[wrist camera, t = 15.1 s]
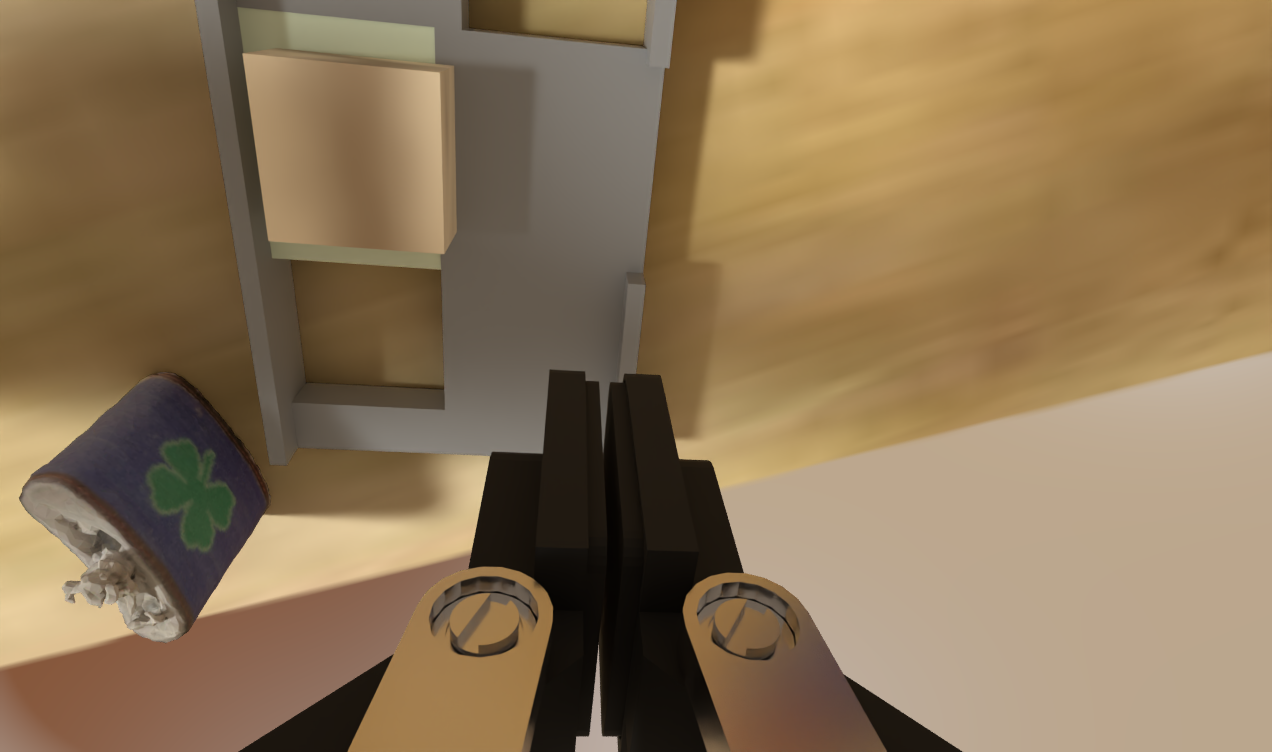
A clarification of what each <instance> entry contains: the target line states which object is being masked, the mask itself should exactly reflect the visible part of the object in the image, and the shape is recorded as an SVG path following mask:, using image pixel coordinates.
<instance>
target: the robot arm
mask: <svg viewBox="0 0 1272 752" xmlns="http://www.w3.org/2000/svg"><path fill="white" fill-rule="evenodd" d="M598 645H599V662H600V692H601V693H600V695H601V725H602V736H617V738H618V752H962V751H960V750H959V749H958V748H956V747H954V746H953V745H951V744H950V743H948V742H947V741H945V740H944V739H942V738H941V737H939V736H938V735H936V734H934V733H933V732H931V731H930V730H928V729H927V728H925V727H924V726H922V725H921V724H919V723H918V722H916V721H914V720H913V719H911V718H910V717H908V716H907V715H905V714H904V713H902V712H900V711H899V710H897V709H896V708H894V707H893V706H891V705H890V704H888V703H887V702H885V701H884V700H882V699H881V698H879V697H877V696H876V695H874V694H873V693H871V692H870V691H868V690H866V689H865V688H864V687H862V686H861V685H859V684H858V683H856V682H854V681H853V680H851V679H850V678H848V677H847V676H845V675H844V674H843V673H842V671H841V670H840V668H839V666H838V664H837V662H836V661H835V659H834V657H833V655H832V654H831V652H830V650H829V648H828V646H827V645H826V643H825V641H824V639H823V638H822V636H821V634H820V632H819V630H818V629H817V627H816V625H815V623H814V622H813V620H812V618H811V616H810V615H809V613H808V611H807V610H806V609H805V608H804V606H803V605H802V604H801V603H800V601H799V600H798V599H797V598H796V597H795V596H794V595H792V594H791V593H790V592H789V591H787V590H786V589H785V588H783V587H782V586H780V585H778V584H776V583H774V582H772V581H770V580H768V579H765V578H762V577H758V576H754V575H750V574H746V573H744V572H743V569H742V565H741V562H740V558H739V555H738V551H737V548H736V544H735V541H734V537H733V534H732V530H731V527H730V523H729V520H728V516H727V513H726V509H725V506H724V503H723V499H722V495H721V492H720V488H719V485H718V481H717V478H716V474H715V471H714V468H713V465H712V463H711V462H710V461H708V460H684V459H679V457H678V453H677V448H676V444H675V439H674V434H673V430H672V425H671V421H670V416H669V411H668V407H667V402H666V397H665V393H664V388H663V384H662V379H661V376H660V375H644V374H625V373H624V377H623V383H620V382H610V385H609V393H608V404H607V415H606V426H605V437H604V448H603V445H602V426H601V407H600V388H599V381H586V374H585V371H570V370H552V369H550V370H549V382H548V395H547V407H546V420H545V433H544V445H543V454H541V453H517V452H492V453H491V456H490V460H489V465H488V471H487V476H486V481H485V486H484V491H483V496H482V502H481V507H480V512H479V517H478V522H477V527H476V532H475V538H474V543H473V548H472V553H471V558H470V563H469V569H467V570H462V571H459V572H457V573H455V574H452V575H450V576H448V577H446V578H444V579H442V580H441V581H439V582H438V583H437V584H435V585H434V586H433V587H432V588H430V589H429V590H428V591H427V592H426V594H425V595H424V596H423V598H422V599H421V601H420V602H419V603H418V605H417V607H416V609H415V611H414V613H413V615H412V617H411V619H410V622H409V624H408V626H407V628H406V630H405V632H404V634H403V636H402V638H401V641H400V642H399V645H398V647H397V649H396V651H395V653H394V654H393V655H392V656H390V657H388V658H387V659H385V660H384V661H382V662H380V663H379V664H377V665H376V666H374V667H372V668H371V669H369V670H368V671H366V672H364V673H363V674H361V675H360V676H358V677H357V678H355V679H354V680H352V681H350V682H349V683H347V684H345V685H344V686H342V687H341V688H339V689H337V690H336V691H335V692H333V693H331V694H330V695H328V696H326V697H325V698H323V699H322V700H320V701H318V702H317V703H315V704H314V705H312V706H310V707H309V708H307V709H306V710H304V711H302V712H301V713H299V714H298V715H296V716H294V717H293V718H291V719H290V720H288V721H286V722H285V723H284V724H282V725H280V726H279V727H277V728H275V729H274V730H272V731H271V732H269V733H267V734H266V735H264V736H263V737H261V738H260V739H258V740H256V741H255V742H253V743H251V744H250V745H249V746H247V747H245V748H244V749H242V750H240V751H239V752H575V745H576V736H589V732H590V722H591V713H592V704H593V694H594V684H595V673H596V664H597V654H598Z"/></svg>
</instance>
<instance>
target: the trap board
mask: <svg viewBox="0 0 1272 752" xmlns="http://www.w3.org/2000/svg"><path fill="white" fill-rule="evenodd" d="M676 2H677V0H647V11H646V22H645V33H644V44H643V46H637V45H628V44H618V43H608V42H598V41H589V40H579V39H569V38H560V37H550V36H540V35H530V34H521V33H511V32H501V31H492V30H482V29H472V28H469V0H195V6H196V12H197V18H198V24H199V31H200V37H201V43H202V49H203V55H204V61H205V68H206V74H207V80H208V86H209V92H210V99H211V105H212V111H213V117H214V123H215V129H216V136H217V142H218V148H219V154H220V160H221V167H222V173H223V179H224V185H225V191H226V197H227V204H228V210H229V216H230V222H231V228H232V235H233V241H234V247H235V253H236V259H237V265H238V272H239V278H240V284H241V290H242V296H243V303H244V309H245V315H246V321H247V327H248V333H249V340H250V346H251V352H252V358H253V364H254V370H255V377H256V383H257V389H258V395H259V401H260V408H261V414H262V420H263V426H264V432H265V438H266V445H267V451H268V457H269V463H270V465H287V464H288V463H289V461H290V459H291V458H292V456H293V455H294V453H295V452H296V450H297V448H316V449H340V450H364V451H388V452H412V453H435V454H459V455H483V456H491V453H492V452H517V453H541V454H543V445H544V433H545V420H546V407H547V395H548V382H549V370H550V369H552V370H570V371H585V374H586V381H599V388H600V407H601V426H602V445H603V448H604V437H605V426H606V415H607V404H608V393H609V385H610V382H620V383H623V377H624V373H625V374H636V370H637V361H638V352H639V343H640V333H641V324H642V315H643V306H644V297H645V287H646V284H645V280H644V275H643V269H644V259H645V250H646V240H647V231H648V222H649V212H650V203H651V193H652V184H653V174H654V165H655V156H656V146H657V137H658V127H659V118H660V109H661V99H662V90H663V80H664V71H665V68H669V67H670V58H671V48H672V39H673V30H674V21H675V12H676ZM274 48H281V49H291V50H301V51H311V52H321V53H331V54H341V55H351V56H362V57H372V58H382V59H392V60H402V61H412V62H422V63H432V64H442V65H452V66H454V90H455V152H456V215H457V233H456V234H455V236H454V238H453V240H452V241H451V243H450V245H449V247H448V249H447V250H446V252H445V254H435V253H421V252H408V251H394V250H381V249H367V248H354V247H340V246H327V245H313V244H300V243H286V242H273V241H268V235H267V228H266V220H265V213H264V206H263V199H262V191H261V184H260V177H259V170H258V162H257V155H256V148H255V141H254V134H253V126H252V119H251V112H250V105H249V97H248V90H247V83H246V76H245V68H244V61H243V54H242V53H248V52H254V51H261V50H267V49H274ZM291 260H306V261H320V262H335V263H350V264H364V265H379V266H394V267H408V268H423V269H438V270H441V286H442V322H443V359H444V390H443V389H423V388H404V387H384V386H365V385H345V384H325V383H306V378H305V370H304V362H303V354H302V346H301V339H300V331H299V323H298V315H297V307H296V299H295V291H294V283H293V275H292V267H291Z"/></svg>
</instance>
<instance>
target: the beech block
mask: <svg viewBox="0 0 1272 752" xmlns="http://www.w3.org/2000/svg"><path fill="white" fill-rule="evenodd" d="M242 54H243V61H244V68H245V76H246V83H247V90H248V97H249V105H250V112H251V119H252V126H253V134H254V141H255V148H256V155H257V162H258V170H259V177H260V184H261V191H262V199H263V206H264V213H265V220H266V228H267V235H268V241H273V242H286V243H300V244H313V245H327V246H340V247H354V248H367V249H381V250H394V251H408V252H421V253H435V254H445V252H446V250H447V249H448V247H449V245H450V243H451V241H452V240H453V238H454V236H455V234H456V233H457V215H456V152H455V90H454V66H452V65H442V64H432V63H422V62H412V61H402V60H392V59H382V58H372V57H362V56H351V55H341V54H331V53H321V52H311V51H301V50H291V49H281V48H274V49H267V50H261V51H254V52H248V53H242Z"/></svg>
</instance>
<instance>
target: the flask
mask: <svg viewBox="0 0 1272 752" xmlns="http://www.w3.org/2000/svg"><path fill="white" fill-rule="evenodd" d="M157 374H158V375H149V376H147V377H145V378H144V379H142V380H141V381H139V382H138V384H137V385H136V386H134V387H133V388H132V389H131V390H130V391H129V392H128V393H127V394H126V395H125V396H124V397H123V398H122V399H121V400H120V401H119V402H118V403H117V404H116V405H114V406H113V407H111V408H110V409H109V410H107V411H106V412H105V413H104V414H103V415H102V416H101V417H100V418H99V419H98V420H97V421H96V422H95V423H94V424H93V425H92V426H91V427H90V428H89V429H88V430H87V431H85V432H84V433H83V434H82V435H80V436H79V437H77V438H76V439H75V440H74V441H73V442H72V443H71V444H70V445H69V446H68V447H67V448H65V449H64V450H63V451H62V452H61V453H59V454H58V455H57V456H56V457H55V458H54V459H53V460H51V461H50V462H49V463H48V464H46V465H44V466H42V467H41V468H40V469H38V470H37V471H35V472H34V473H33V474H32V475H31V477H30V479H29V480H28V481H27V482H26V484H25V485H24V486H23V488H22V493H21V495H20V497H19V500H20V502H21V503H22V505H23V507H24V508H25V510H26V511H27V512H28V513H29V514H30V515H31V516H32V517H33V518H34V519H35V520H37V521H38V522H39V523H41V524H42V525H43V526H44V527H45V528H46V529H47V530H48V531H49V532H50V533H52V534H53V535H55V536H56V537H58V538H59V539H60V540H61V541H62V543H63V544H64V545H66V546H67V547H68V548H69V549H70V551H71V552H73V553H74V554H76V555H77V557H78V558H79V559H80V560H81V561H82V562H83V563H84V564H85V565H86V566H87V568H88V570H87V571H86V572H84V573H83V574H82V575H81V581H67V582H66V583H65V584H64V585H63V587H62V589H63V591H64V593H65V594H66V595H65V601H67V602H70V603H75V600H74V594H76V593H82V595H83V596H84V597H85V599H86V600H87V602H88V603H89V604H90V605H96V606H98V607H99V608H101V607H102V604H103V602H104V603H105V604H111V605H112V604H113V603H115V602H116V603H117V604H118V607H119V610H120V612H121V613H122V614H123V618H124V621H125V624H126V625H127V628H129V629H130V630H133V631H134V632H135V633H137V634H138V635H140V636H141V637H144V638H149V639H151V640H152V641H157V642H164V643H167V642H169V641H172V640H175V639H178V638H180V637H181V636H183V635H184V634H185V633H187V632H188V631H189V630H190V628H191V627H192V625H193V623H194V622H195V620H196V618H197V617H198V615H199V613H200V612H201V610H202V608H203V607H204V605H205V604H206V602H207V600H208V599H209V597H210V596H211V594H212V593H213V591H214V590H215V589H216V587H217V586H218V584H219V582H220V580H221V579H222V577H223V575H224V573H225V572H226V570H227V569H228V567H229V566H230V564H231V562H232V561H233V559H234V558H235V557H236V556H237V554H238V553H239V552H240V550H241V549H242V547H243V546H244V544H245V543H246V541H247V539H248V538H249V537H250V535H251V534H252V532H253V530H254V529H255V527H256V525H257V524H258V522H259V520H260V518H261V517H262V516H263V514H264V513H265V511H266V509H267V508H268V507H269V506H270V500H271V496H270V494H269V489H268V487H267V483H265V480H264V478H263V477H262V476H261V473H260V471H259V470H260V469H259V467H258V466H257V465H255V463H254V458H253V457H251V454H250V452H249V451H248V450H247V449H246V448H245V447H244V444H243V443H242V442H241V440H239V439H237V438H236V436H235V435H234V433H233V432H232V430H231V428H230V427H229V426H228V425H227V424H226V423H225V422H224V420H223V419H222V418H221V417H220V415H219V414H218V413H217V412H216V411H215V409H213V407H212V405H211V404H209V402H208V401H207V400H205V398H204V397H203V396H202V394H201V393H200V392H199V391H198V389H196V388H194V386H192V385H190V384H189V383H188V382H187V381H185V379H183V378H182V377H178V376H177V375H176V374H175V373H167V372H159V373H157ZM104 599H105V601H104Z"/></svg>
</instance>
